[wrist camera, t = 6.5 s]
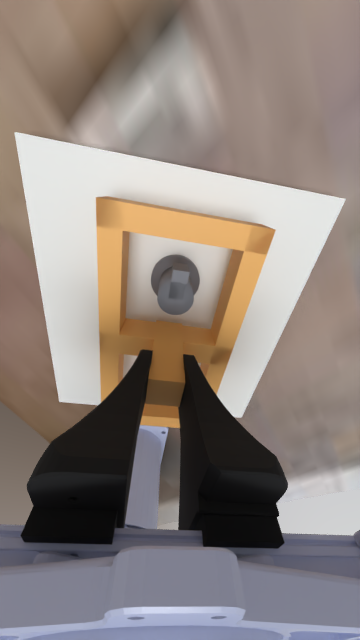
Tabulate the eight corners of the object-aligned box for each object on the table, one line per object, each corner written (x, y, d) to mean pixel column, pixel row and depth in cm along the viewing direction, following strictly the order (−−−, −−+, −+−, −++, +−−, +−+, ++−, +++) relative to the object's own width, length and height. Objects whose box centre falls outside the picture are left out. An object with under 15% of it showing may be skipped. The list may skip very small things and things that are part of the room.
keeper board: (237, 405, 24) (253, 457, 19) (66, 389, 22) (37, 442, 17) (329, 198, 14) (407, 202, 9) (31, 138, 12) (-57, 105, 8)
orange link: (201, 409, 20) (209, 476, 15) (107, 401, 19) (86, 469, 15) (261, 224, 12) (316, 245, 8) (107, 196, 11) (59, 200, 7)
